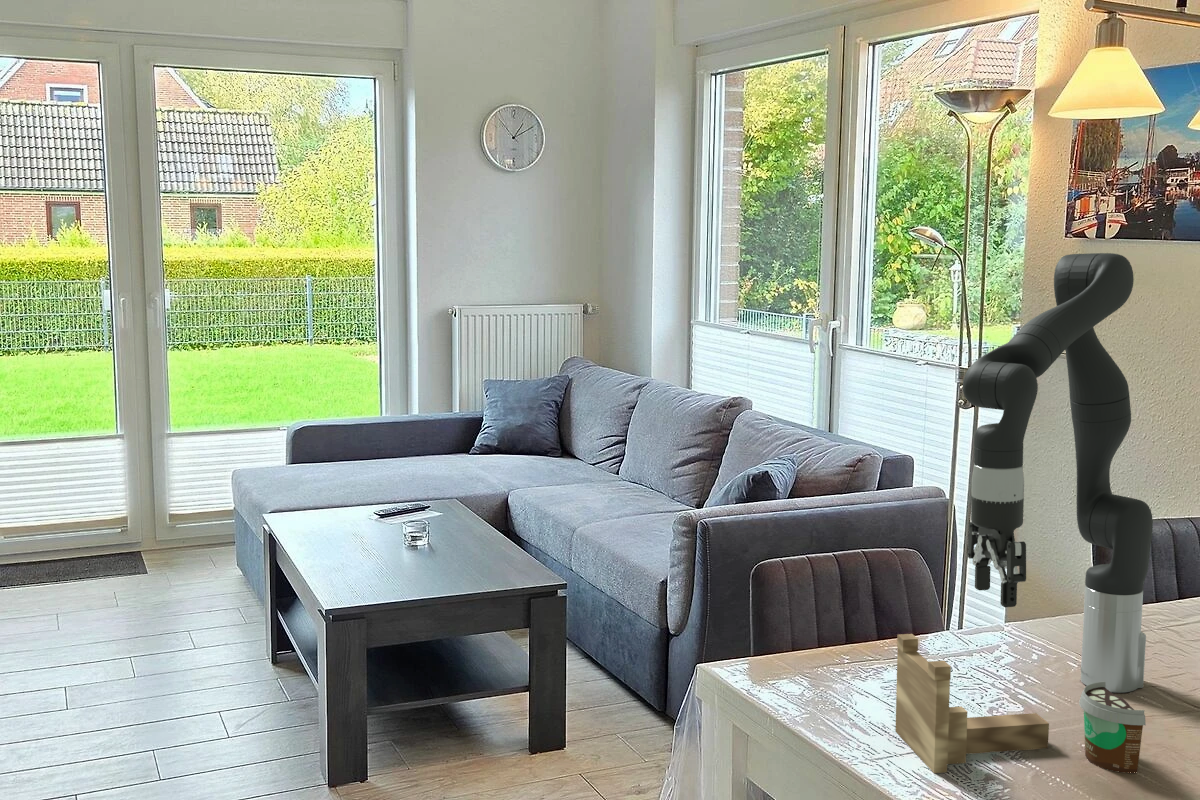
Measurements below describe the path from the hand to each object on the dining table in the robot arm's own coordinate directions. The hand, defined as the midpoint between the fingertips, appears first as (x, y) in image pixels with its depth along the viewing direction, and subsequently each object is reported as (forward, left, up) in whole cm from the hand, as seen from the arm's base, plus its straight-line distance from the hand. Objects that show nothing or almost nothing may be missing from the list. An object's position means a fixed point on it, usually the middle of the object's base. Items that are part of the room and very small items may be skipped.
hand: (995, 597), depth 184 cm
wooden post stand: (+10, +2, -23) cm, 25 cm away
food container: (-13, +9, -23) cm, 28 cm away
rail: (+2, +2, -23) cm, 23 cm away
